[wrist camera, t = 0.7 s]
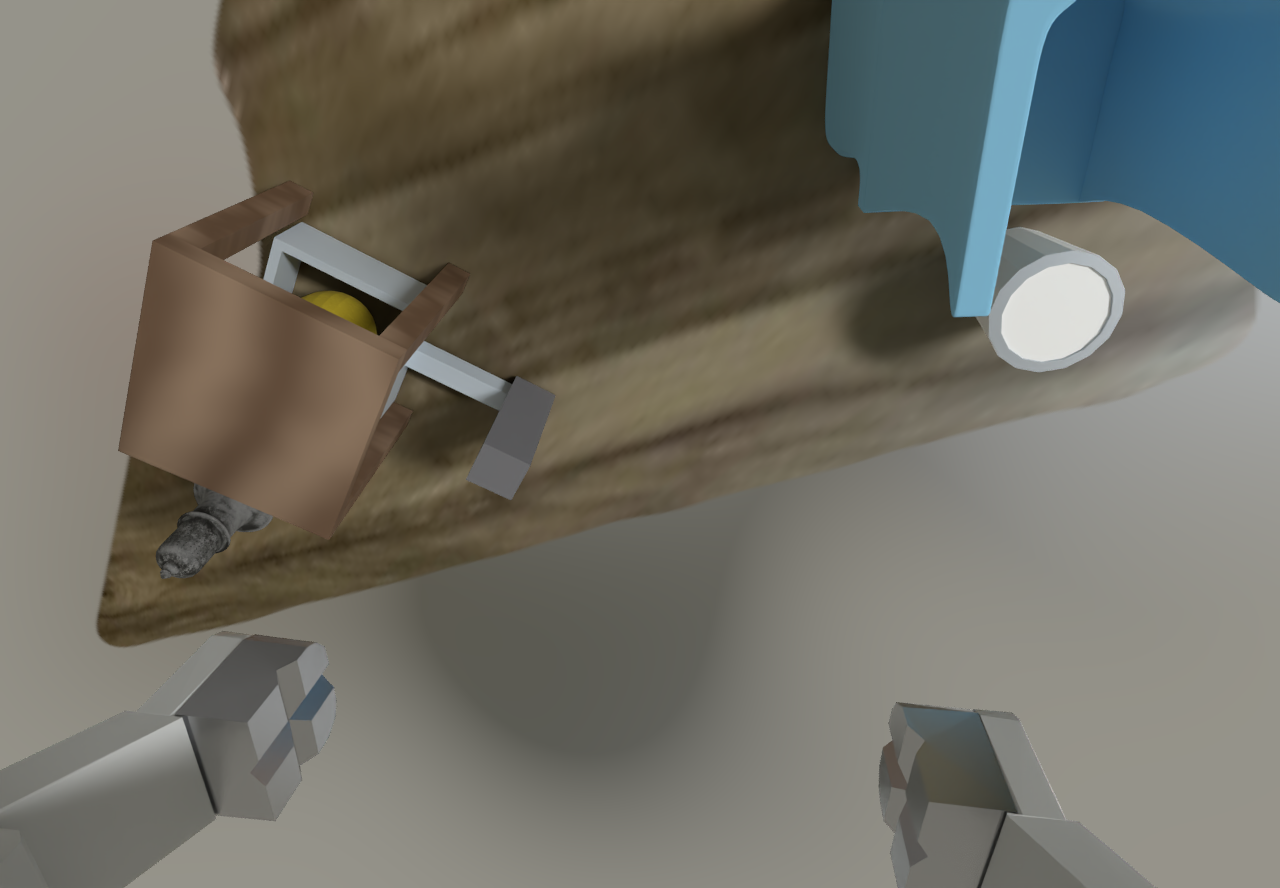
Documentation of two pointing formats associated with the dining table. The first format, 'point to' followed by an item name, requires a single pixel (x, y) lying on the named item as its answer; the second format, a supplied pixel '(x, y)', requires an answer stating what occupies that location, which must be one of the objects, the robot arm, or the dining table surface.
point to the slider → (428, 354)
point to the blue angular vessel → (1063, 120)
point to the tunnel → (265, 373)
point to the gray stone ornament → (206, 532)
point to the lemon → (343, 308)
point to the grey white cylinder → (1050, 302)
